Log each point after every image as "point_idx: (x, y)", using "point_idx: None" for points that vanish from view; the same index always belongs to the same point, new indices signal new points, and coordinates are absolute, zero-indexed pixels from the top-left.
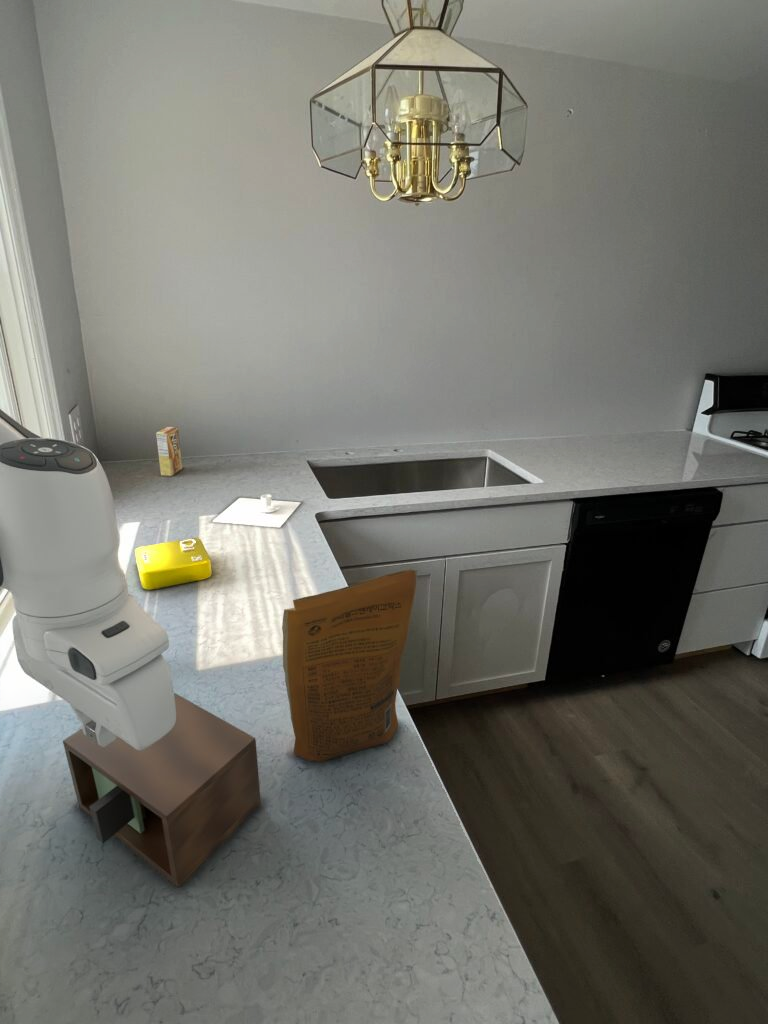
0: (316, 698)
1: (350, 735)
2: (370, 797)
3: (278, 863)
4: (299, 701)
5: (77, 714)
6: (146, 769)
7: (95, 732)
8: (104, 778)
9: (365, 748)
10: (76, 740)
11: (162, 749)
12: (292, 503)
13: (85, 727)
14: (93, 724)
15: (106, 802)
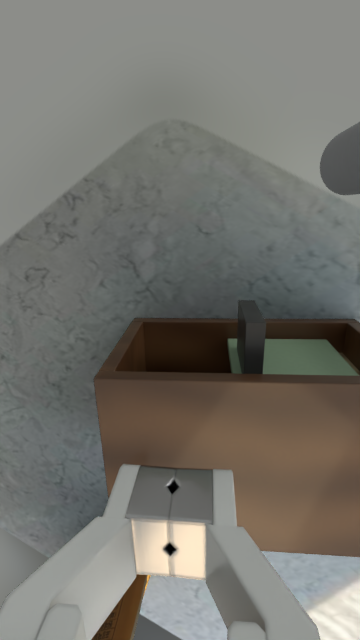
0: (100, 627)
1: None
2: (50, 495)
3: (68, 394)
4: (128, 609)
5: (250, 574)
6: (213, 422)
7: (123, 518)
8: (315, 369)
9: None
10: None
11: (227, 462)
12: None
13: (207, 511)
14: (179, 539)
15: (246, 342)
